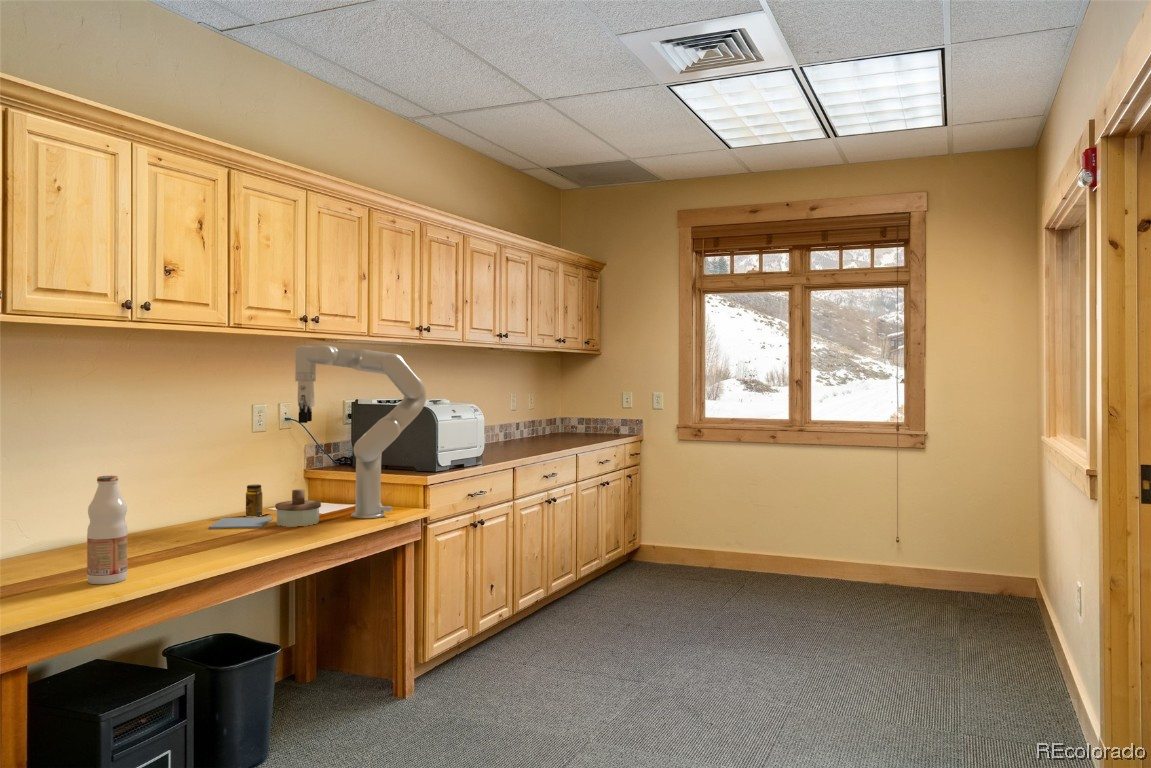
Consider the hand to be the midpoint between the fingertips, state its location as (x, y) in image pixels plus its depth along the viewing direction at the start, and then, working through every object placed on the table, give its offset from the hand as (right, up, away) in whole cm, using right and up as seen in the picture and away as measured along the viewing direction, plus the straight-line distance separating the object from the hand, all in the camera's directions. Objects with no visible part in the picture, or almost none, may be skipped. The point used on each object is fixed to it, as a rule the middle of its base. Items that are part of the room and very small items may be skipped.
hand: (305, 422), depth 320 cm
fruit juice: (-21, -38, -98) cm, 107 cm away
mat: (-18, -37, -15) cm, 44 cm away
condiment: (-20, -37, +3) cm, 42 cm away
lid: (+1, -31, -12) cm, 33 cm away
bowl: (+1, -37, -12) cm, 39 cm away
